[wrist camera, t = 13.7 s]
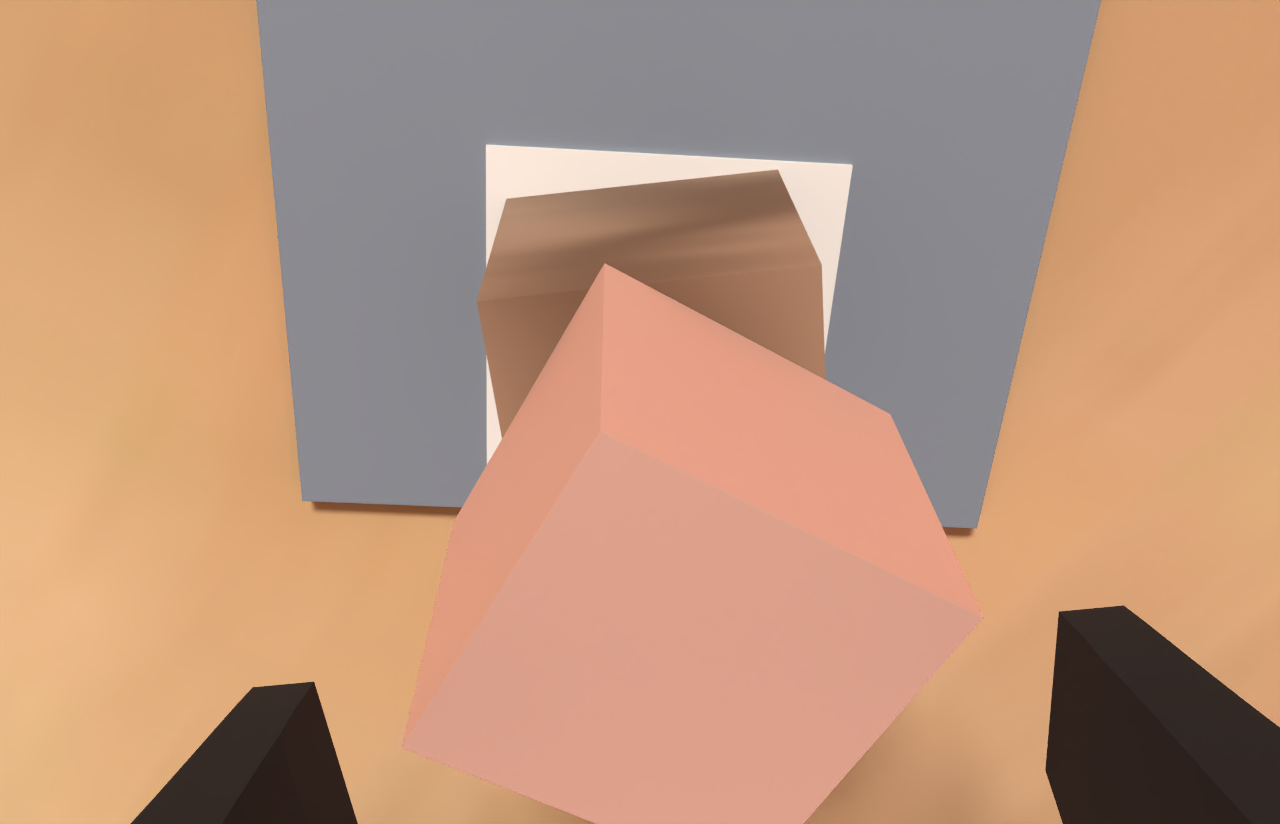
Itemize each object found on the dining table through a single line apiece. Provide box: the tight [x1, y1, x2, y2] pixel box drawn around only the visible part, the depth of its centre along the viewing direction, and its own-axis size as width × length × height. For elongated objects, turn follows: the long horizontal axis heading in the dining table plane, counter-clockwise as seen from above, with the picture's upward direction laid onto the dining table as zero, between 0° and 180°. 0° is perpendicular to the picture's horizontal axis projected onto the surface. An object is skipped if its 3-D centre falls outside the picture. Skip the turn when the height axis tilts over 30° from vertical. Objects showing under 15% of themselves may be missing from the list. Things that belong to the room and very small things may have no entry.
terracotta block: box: [402, 263, 984, 824], centre depth 14 cm, size 4×4×4 cm
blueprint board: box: [256, 0, 1101, 528], centre depth 20 cm, size 13×10×1 cm
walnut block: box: [477, 169, 825, 438], centre depth 18 cm, size 4×4×4 cm
